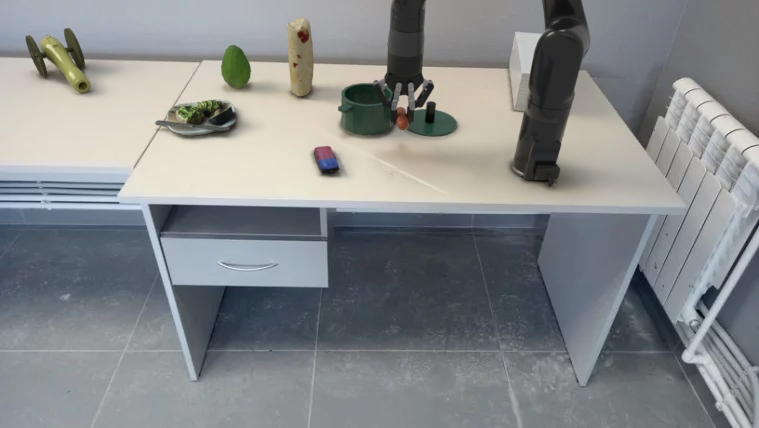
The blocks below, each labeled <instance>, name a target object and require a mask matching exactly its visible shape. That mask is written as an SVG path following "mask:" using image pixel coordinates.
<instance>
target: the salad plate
mask: <svg viewBox="0 0 759 428" xmlns="http://www.w3.org/2000/svg"><path fill="white" fill-rule="evenodd" d="M237 122H238V115H237V111H236V108H235V106H234V104H233V103H232V102H230V101H229V100H225V99H207V100H201V101H194V102H184V103H179V104H176V105H174V106H172V107H170V108H169V109H168V110H167V112H166V120H162V119H161V120H158V119H157V120H155V122H154V125H155V126H159V127H164V128H167V129H169V130H170V131H171V132H173V133H176V134H179V135H182V136H201V135H202V136H203V135H215V134H222V133H226V132H229V131H230V130H232V129H233V128H234V127H235V126H236V124H237Z"/></svg>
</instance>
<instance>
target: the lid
mask: <svg viewBox="0 0 759 428" xmlns="http://www.w3.org/2000/svg"><path fill="white" fill-rule="evenodd" d="M425 104H426V105H425V108H421V109H420V108H418V109H415V110H414V120H413V122H411V124H410V125H409V127H408V128H407V129H406V130H407V131H409V132H411V133H413V134H415V135H419V136H424V137H441V136H446V135H449V134H452V133H453V132H454V131H455V130H456V128H457V121H456V119H455V118H454V116H452V115H451V114H449V113H447V112H445V111H443V110H442V111H441V110H438V109H436V108H437V103H436V102H435V101H429V100H428V101H426V103H425Z"/></svg>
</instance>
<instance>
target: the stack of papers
mask: <svg viewBox="0 0 759 428" xmlns="http://www.w3.org/2000/svg"><path fill="white" fill-rule="evenodd" d="M542 34H543V33H536V32H524V31H515V32H514V36H513V41H512V48H511V53H510V58H509V62H508V69H509V78H510V85H511V93H512V103H513V110H514V111H516V112H517V111H518V112H524V110H525V105H526V101H527V96H528V91H529V88H528V82H529V76H530V71H531V65H532V60H533V55H534V51H535V47H536V44H537V42H538V40H539V38H540V37H541V35H542Z"/></svg>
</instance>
